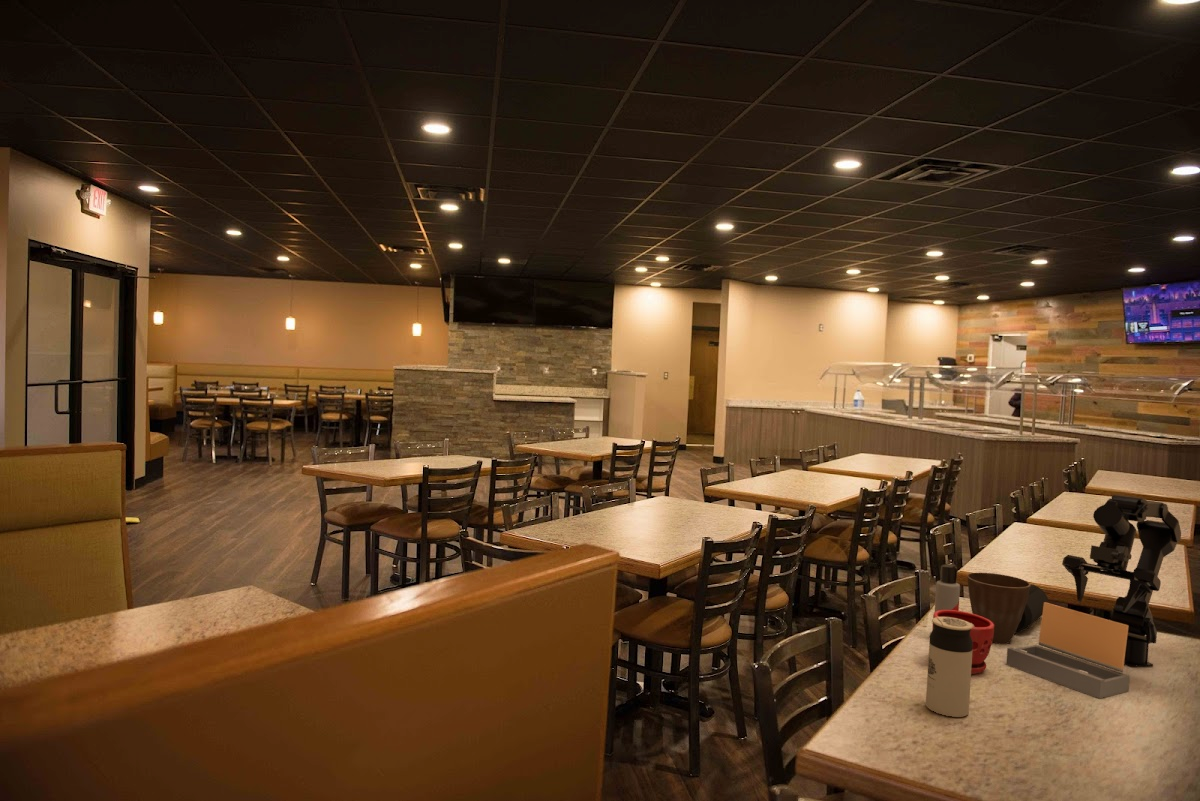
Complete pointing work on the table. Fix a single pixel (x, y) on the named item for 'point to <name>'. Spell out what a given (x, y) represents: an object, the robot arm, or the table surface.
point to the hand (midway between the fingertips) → (1101, 606)
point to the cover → (1084, 636)
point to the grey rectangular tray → (1068, 671)
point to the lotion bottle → (947, 589)
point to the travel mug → (949, 667)
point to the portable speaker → (1032, 607)
